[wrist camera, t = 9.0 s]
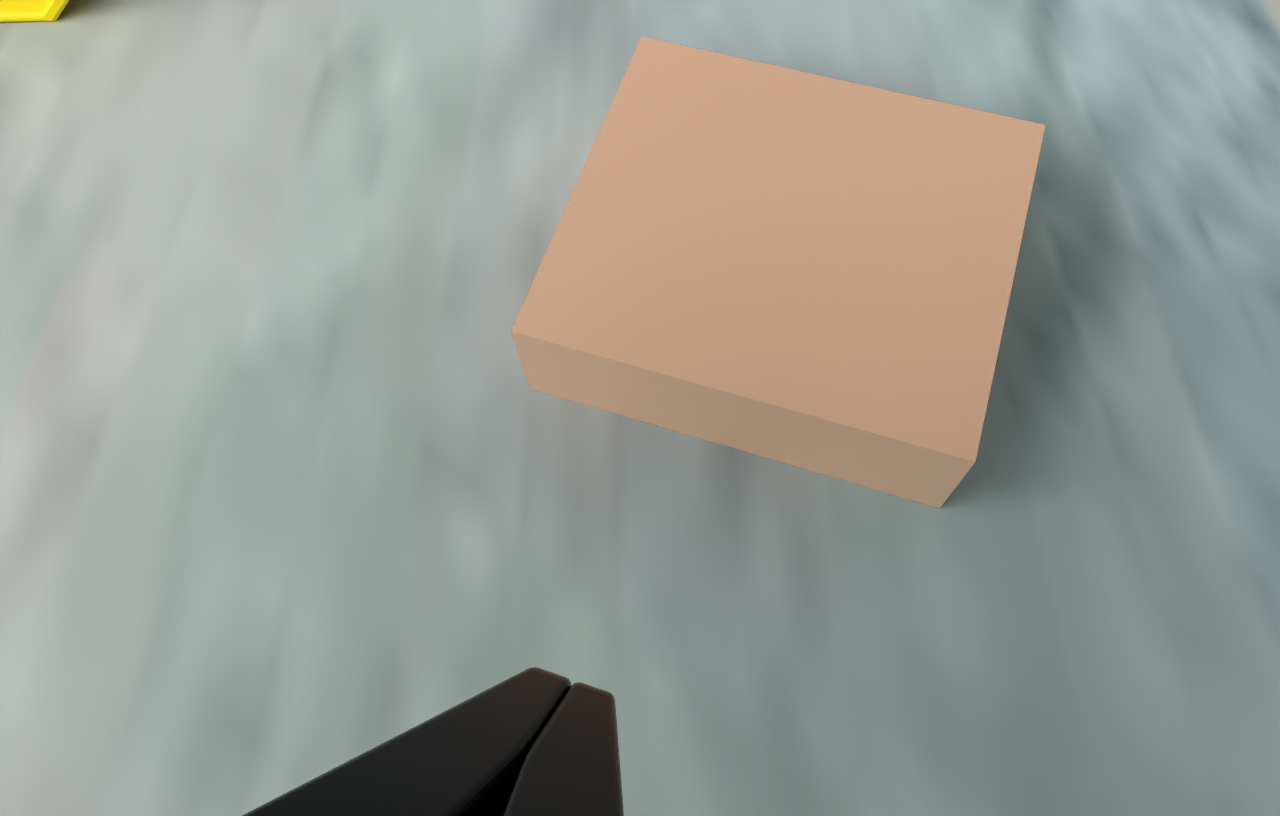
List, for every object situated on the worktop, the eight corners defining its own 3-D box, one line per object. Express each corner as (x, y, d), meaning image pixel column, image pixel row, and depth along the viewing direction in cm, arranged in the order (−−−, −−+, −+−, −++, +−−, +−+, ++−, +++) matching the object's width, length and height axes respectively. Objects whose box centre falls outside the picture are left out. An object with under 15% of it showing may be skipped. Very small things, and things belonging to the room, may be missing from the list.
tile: (975, 461, 17) (1045, 124, 20) (510, 331, 18) (641, 36, 22) (935, 514, 20) (1002, 210, 23) (533, 396, 21) (646, 126, 24)
